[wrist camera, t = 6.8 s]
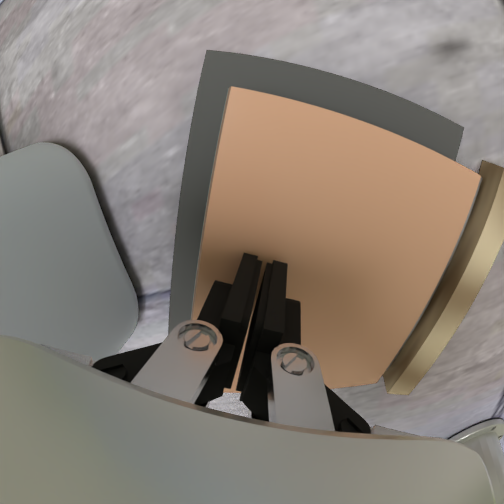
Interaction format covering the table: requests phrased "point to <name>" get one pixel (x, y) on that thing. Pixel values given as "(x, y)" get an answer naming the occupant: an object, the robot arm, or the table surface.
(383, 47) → the table surface
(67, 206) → the plastic bottle
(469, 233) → the tile stand
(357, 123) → the tile
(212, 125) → the rubber mat
